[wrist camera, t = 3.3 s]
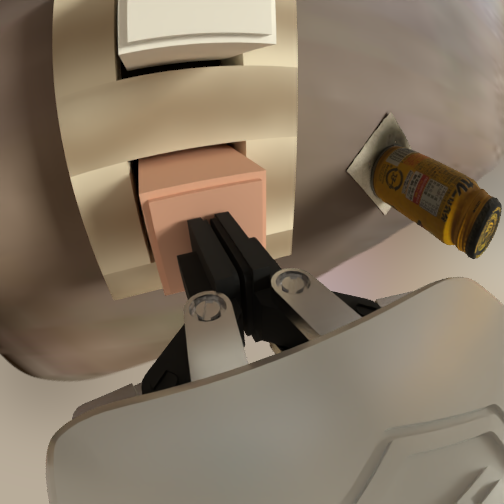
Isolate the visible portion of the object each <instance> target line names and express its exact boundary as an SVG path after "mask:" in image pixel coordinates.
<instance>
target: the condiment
mask: <svg viewBox="0 0 504 504" xmlns="http://www.w3.org/2000/svg"><path fill="white" fill-rule="evenodd" d="M395 141H396V142H395ZM369 163H371V165H370V166H369ZM370 167H371V169H370ZM369 169H370V170H369ZM347 172H348V173H349V174H350V175H351V176H352V177H353V178H354V180H355V181H356V182H357V183H358V184H359V185H360V186H361V187H362V188H363V189H364V191H365V192H366V193H367V194H368V196H369V197H370V198H371V199H372V200H373V201H374V203H375V204H376V205H377V206H378V208H379V209H380V210H381V211H382V212H383V213H384V214H385V215H386V213H387V212H388V211H389V209H390V208H391V207H393V208H394V209H396V210H397V211H399V212H401V213H402V214H403V215H405V216H406V217H408V218H409V219H411V220H412V221H414V222H416V223H417V224H418V225H420V226H421V227H423V228H424V229H426V230H427V231H429V232H430V233H431V234H433V235H434V236H435V237H436V238H438V239H439V240H441V241H442V242H443V243H445V244H447V245H456V247H457V248H458V249H459V250H460V251H463V252H465V253H466V254H467V255H468V257H470V258H472V259H475V258H478V257H479V256H480V255H481V254H482V253H483V252H484V251H485V250H486V248H487V247H488V245H489V244H490V242H491V240H492V238H493V236H494V234H495V232H496V229H497V226H498V223H499V220H500V216H501V209H502V208H501V203H500V202H499V201H498V199H497V198H494V197H491V196H490V195H488V193H487V192H486V191H485V190H484V189H480V188H479V186H478V185H477V183H476V182H475V181H474V180H473V179H471V178H469V177H468V176H466V175H464V174H462V173H460V172H458V171H456V170H454V169H452V168H450V167H448V166H446V165H444V164H442V163H440V162H438V161H436V160H434V159H431V158H429V157H427V156H425V155H422V154H420V153H418V152H416V151H413V150H412V149H411V147H410V145H409V143H408V141H407V139H406V137H405V135H404V134H403V132H402V130H401V129H400V127H399V125H398V124H397V121H396V119H395V118H394V116H393V115H392V113H391V112H390V113H389V115H388V116H387V117H386V118H385V119H384V120H383V122H382V123H381V124H380V126H379V127H378V129H377V130H376V131H375V132H374V133H373V135H372V136H371V138H370V139H369V140H368V142H367V143H366V144H365V145H364V147H363V149H362V150H361V152H360V153H359V154H358V156H357V157H356V158H355V159H354V161H353V163H352V164H351V166H350V167H349V168H348V170H347Z"/></svg>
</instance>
